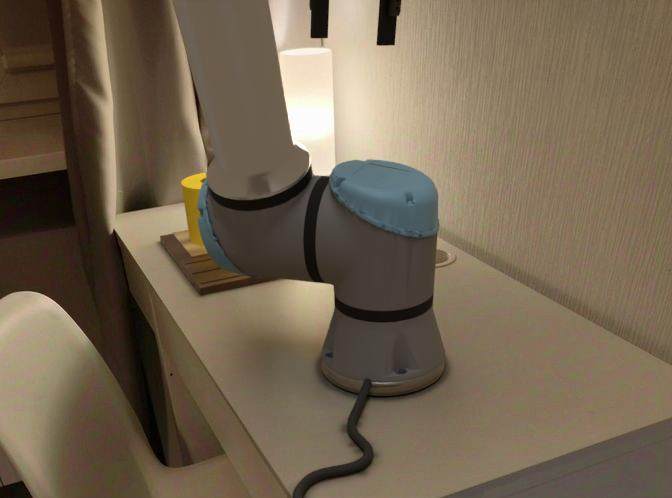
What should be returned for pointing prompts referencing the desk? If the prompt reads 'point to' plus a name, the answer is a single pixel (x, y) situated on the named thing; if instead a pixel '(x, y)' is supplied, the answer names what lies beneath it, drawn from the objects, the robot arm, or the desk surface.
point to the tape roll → (193, 205)
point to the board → (203, 265)
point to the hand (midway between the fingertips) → (350, 42)
